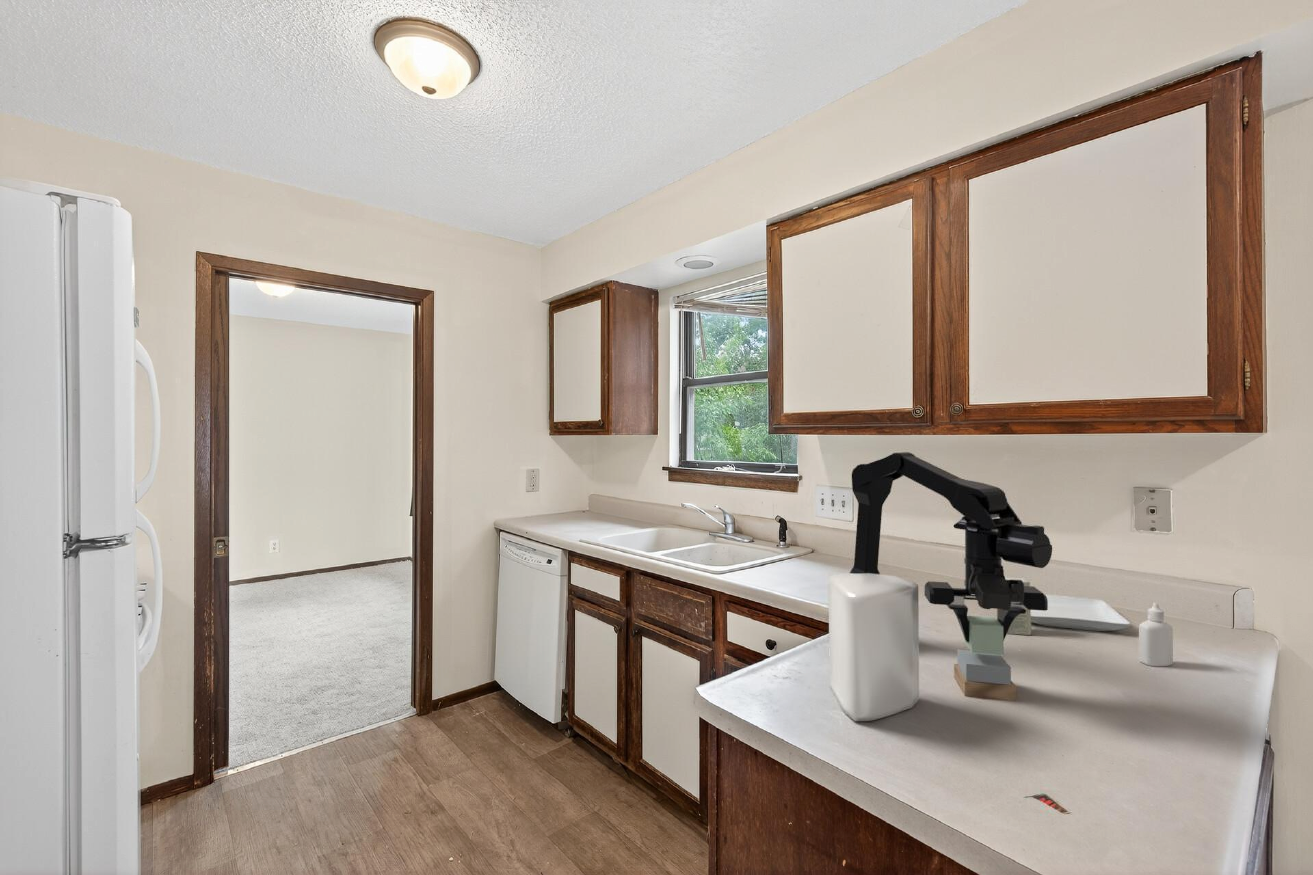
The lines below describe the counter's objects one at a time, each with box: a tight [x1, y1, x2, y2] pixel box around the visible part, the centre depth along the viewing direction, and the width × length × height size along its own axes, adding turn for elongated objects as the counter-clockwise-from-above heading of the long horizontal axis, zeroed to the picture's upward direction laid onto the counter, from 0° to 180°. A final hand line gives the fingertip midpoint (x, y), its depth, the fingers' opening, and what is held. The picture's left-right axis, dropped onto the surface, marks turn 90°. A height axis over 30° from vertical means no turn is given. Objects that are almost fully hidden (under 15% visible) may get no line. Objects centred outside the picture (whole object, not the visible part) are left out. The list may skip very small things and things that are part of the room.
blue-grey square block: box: [956, 649, 1012, 685], centre depth 106 cm, size 7×7×3 cm
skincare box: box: [996, 576, 1032, 636], centre depth 135 cm, size 6×4×12 cm
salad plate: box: [1031, 593, 1131, 632], centre depth 144 cm, size 21×21×3 cm
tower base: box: [953, 663, 1017, 702], centre depth 106 cm, size 8×8×3 cm
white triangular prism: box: [828, 572, 920, 722], centre depth 102 cm, size 15×14×22 cm
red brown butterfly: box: [1019, 793, 1071, 815], centre depth 73 cm, size 5×5×1 cm
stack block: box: [964, 615, 1004, 656], centre depth 106 cm, size 5×5×5 cm
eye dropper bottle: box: [1138, 602, 1174, 667], centre depth 116 cm, size 4×6×12 cm
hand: (983, 642), depth 106 cm, fingers closed on stack block, 5 cm apart
